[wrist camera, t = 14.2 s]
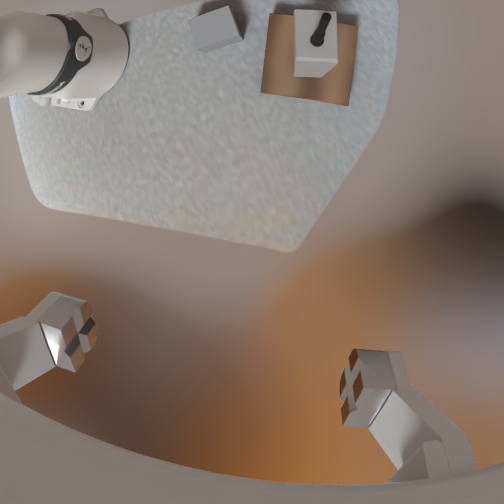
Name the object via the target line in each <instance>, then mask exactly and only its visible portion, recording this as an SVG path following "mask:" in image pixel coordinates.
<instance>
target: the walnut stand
mask: <svg viewBox="0 0 504 504" xmlns="http://www.w3.org/2000/svg"><path fill="white" fill-rule="evenodd" d="M337 26H338V55H339V62H338V64H336V65H335V66H334V67H333V68H332V69H331V70H330V71H329V72H327V73H326V74H325V75H324V76H323V77H322V78H317V77H294V57H293V42H294V16H291V15H282V14H272V13H270V16H269V25H268V33H267V42H266V50H265V59H264V68H263V76H262V85H261V93H265V94H274V95H282V96H290V97H297V98H303V99H310V100H316V101H322V102H328V103H333V104H338V105H344V106H348V105H349V97H350V90H351V82H352V74H353V66H354V57H355V48H356V38H357V28H358V27H356V26H351V25H347V24H342V23H337Z"/></svg>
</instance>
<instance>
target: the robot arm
mask: <svg viewBox="0 0 504 504" xmlns="http://www.w3.org/2000/svg"><path fill="white" fill-rule="evenodd" d="M127 59H128V40H127V37H126V34H125V32H124V31H123V29H122V28H121V27H120V26H119V25H118V24H116V23H115V22H113V21H111V20H110V19H109V18H108V16H107V15H106V13H105V11H104V10H103V9H99V8H97V9H94V10H91V11H89V12H87V13H86V12H80V11H72V12H71V13H69V14H67V15H61V14H48V15H40V14H35V13H29V12H22V11H15V12H11V13H8V14H5V15H3V16H1V17H0V98H4V97H8V96H13V95H18V94H24V93H25V94H28V95H31V97H32V99H33V101H34V102H36V103H39V105H40V106H48V105H55V106H61V107H67V108H73V109H79V110H84V111H91V110H93V109H94V107H95V106H96V104H97V103H98V101H99V99H100V97H101V96H102V95H103V94H104V93H106V92H107V91H108V90H109V89H111V88H112V87H113V86H114V84H115V83H116V82H117V81H118V79H119V78H120V76H121V75H122V73H123V71H124V68H125V66H126V63H127ZM83 101H84V105H83ZM92 314H93V308H92V304H91V303H89V302H88V301H84V300H81V299H77V298H74V297H71V296H68V295H63V294H60V293H57V292H51V293H49V294H48V295H47V296H46V297H45V298H44V299H43V300H42V301H41V302H40V303H39V304H38V305H37V306H36V307H35V308H34V309H33V310H32V311H31V312H30V313H29V314H28V315H27V316H26V317H20V318H17V319H14V320H12V321H9V322H6V323H3V324H1V325H0V504H504V462H503V463H500V464H496V465H492V466H489V467H484V468H481V469H477V467H476V463H475V459H474V456H473V453H472V449H471V446H470V443H469V440H468V437H467V435H466V434H465V433H464V432H463V431H461V429H459V428H458V427H457V426H456V425H455V424H454V423H453V422H452V421H451V420H450V419H449V418H448V417H446V416H445V415H444V414H443V413H442V412H441V411H440V410H439V409H438V408H437V407H436V406H435V405H433V404H432V403H431V402H430V401H429V400H428V399H427V398H426V397H425V396H424V395H423V394H421V393H420V392H419V391H418V390H414V389H413V386H412V382H411V379H410V376H409V373H408V370H407V367H406V364H405V360H404V358H403V354H402V353H401V352H400V351H381V350H366V349H355V348H354V349H353V350H352V352H351V354H350V356H349V364H350V365H348V366H347V367H345V368H344V371H343V373H342V376H341V380H340V391H339V392H340V398H341V399H342V400H343V401H344V404H343V406H342V408H341V415H342V426H346V427H347V426H348V427H365V428H366V427H367V428H369V430H370V432H371V433H372V434H373V436H374V437H375V439H376V440H377V441H378V443H379V444H380V446H381V447H382V448H383V450H384V451H385V453H386V454H387V455H388V457H389V458H390V459H391V461H392V462H393V464H394V465H395V466H396V468H397V469H398V471H397V472H396V473H395V474H393V475H392V476H391V477H390V478H389V479H388V480H387V481H386V482H385V483H379V484H357V485H323V484H300V483H286V482H275V481H266V480H258V479H249V478H243V477H236V476H230V475H224V474H218V473H214V472H208V471H204V470H199V469H194V468H190V467H185V466H181V465H177V464H173V463H169V462H166V461H162V460H158V459H155V458H151V457H148V456H145V455H141V454H138V453H135V452H132V451H129V450H126V449H123V448H120V447H117V446H114V445H111V444H109V443H105V442H103V441H100V440H98V439H95V438H92V437H90V436H88V435H85V434H83V433H80V432H78V431H76V430H73V429H71V428H69V427H66V426H64V425H62V424H60V423H58V422H56V421H54V420H51V419H49V418H47V417H45V416H43V415H41V414H39V413H37V412H35V411H33V410H31V409H29V408H28V407H26V406H24V405H22V404H21V401H20V399H19V397H18V396H17V394H16V392H15V390H17V389H19V388H20V387H22V386H23V385H25V384H27V383H29V382H30V381H32V380H34V379H35V378H37V377H39V376H40V375H42V374H44V373H45V372H47V371H49V370H50V369H52V368H54V367H55V365H56V366H59V367H61V368H65V369H67V370H70V371H73V372H76V371H77V369H78V367H79V366H80V365H81V363H82V362H83V361H84V359H85V358H84V353H85V352H87V351H90V350H91V349H92V347H93V346H94V344H95V342H96V338H97V326H96V323H95V321H94V320H93V319H92V317H91V316H92Z"/></svg>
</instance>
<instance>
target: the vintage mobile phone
mask: <svg viewBox="0 0 504 504" xmlns="http://www.w3.org/2000/svg"><path fill="white" fill-rule="evenodd" d="M293 57H294V77H317V78H322V77H323V76H324V75H325V74H326V73H327V72H329V71H330V70H331V69H332V68H333V67H334V66H335V65H336V64H338V62H339V55H338V26H337V12H336V11H324V10H305V9H295V10H294V42H293Z"/></svg>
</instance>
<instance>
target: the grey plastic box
mask: <svg viewBox="0 0 504 504" xmlns="http://www.w3.org/2000/svg"><path fill="white" fill-rule="evenodd" d="M188 23H189V26H190V29H191V32H192V35H193V38H194V41H195V44H196V46H197V49H198V50H200V51H201V52H203V53H207V52H209V51H212V50H215V49H218V48H221V47H224V46H227V45H230V44H233V43H236V42H239V41H242V40H243V38H242V35H241V32H240V30H239V27H238V24H237V21H236V19H235V16H234V13H233V12H232V10H231V9H230V7H229V6H225V7H222V8H219V9H217V10H214V11H211V12H208V13H205V14H203V15H200V16H197V17H195V18H192V19H190V20H188Z"/></svg>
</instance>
